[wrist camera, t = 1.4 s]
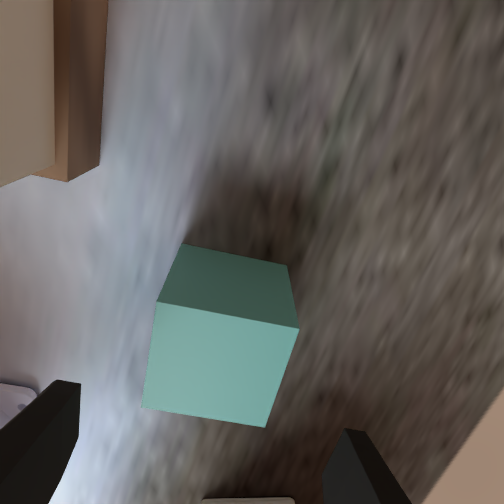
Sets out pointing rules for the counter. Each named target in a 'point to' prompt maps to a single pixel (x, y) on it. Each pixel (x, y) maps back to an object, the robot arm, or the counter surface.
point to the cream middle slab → (26, 88)
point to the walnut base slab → (77, 86)
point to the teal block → (220, 337)
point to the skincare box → (249, 501)
